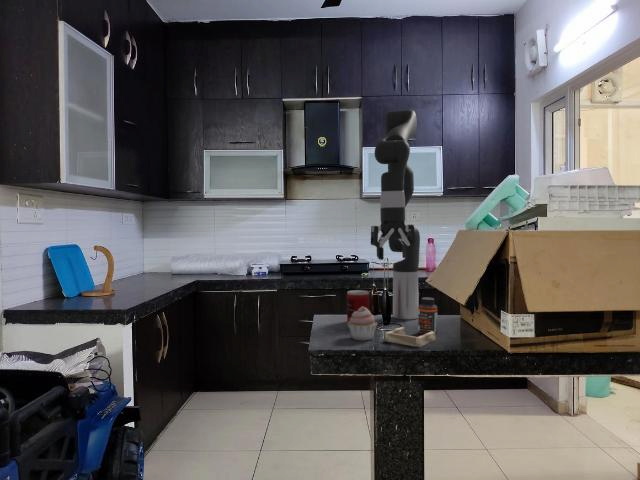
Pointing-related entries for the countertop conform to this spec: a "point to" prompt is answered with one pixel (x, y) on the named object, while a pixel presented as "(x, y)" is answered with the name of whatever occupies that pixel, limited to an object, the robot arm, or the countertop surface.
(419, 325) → the supplement bottle
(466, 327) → the countertop surface
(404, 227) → the robot arm
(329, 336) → the countertop surface
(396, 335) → the keeper
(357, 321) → the cupcake
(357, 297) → the canned food
